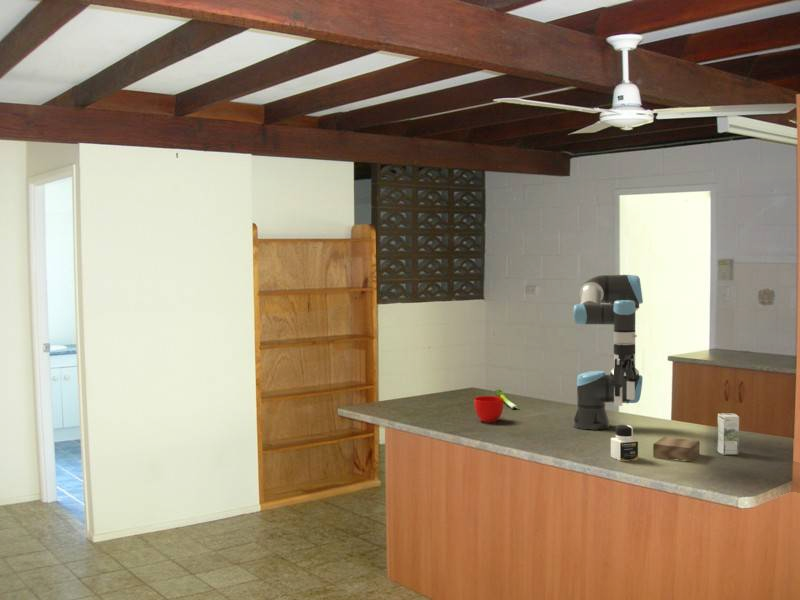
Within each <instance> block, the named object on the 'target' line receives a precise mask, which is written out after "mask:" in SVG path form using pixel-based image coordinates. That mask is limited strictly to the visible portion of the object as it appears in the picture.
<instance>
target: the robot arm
mask: <svg viewBox="0 0 800 600" xmlns="http://www.w3.org/2000/svg"><path fill="white" fill-rule="evenodd" d="M642 291H643V290H642V286H641V279H640V277H639V276H638V275H636V274H635V275H634V274H608V275H606V274H601V275H597V276H594V277H591V278H589V279H588V280H586V281H585V282H584V283H583V284H581V287H580V289H579V298H580V303H577V304H575V305H574V304H573V305H574V306H573V313H572V314H573V323H574V324H575V325H613V354H614V355H613V368H611V370H609V371H610V374H606V371H604V370H591V371H586V372H582V373H580V374H578V375H577V378H576V380H577V381H576V394H577V395H576V410H575V414H574V416H573V420H572V427H573V428H577V429H579V428H580V429H579V430H586V429H591V430H590V431H595V430H596V431H598V429H601V430H606V428H607V429H609V428H610V419H609V417H608V414H607V410H606V403H611V404H613V406H618V407H622V406H623V404H636V403H638V402H639V401H640V400H641V396H642V389H643V376H642V375H640V371H639V370H638V369H637V368H636V338H637V337H638V336H637V334H636V312H637V311H638V310H639V309H640V305H641V304H643V303H644V302H643V292H642Z"/></svg>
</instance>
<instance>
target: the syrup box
mask: <svg viewBox="0 0 800 600" xmlns="http://www.w3.org/2000/svg"><path fill="white" fill-rule="evenodd" d="M739 436H740V416H738V415H737V414H736V413H733V412H732V413H727V412H726V413H724V412H723V413H717V436H716V437H717V444H716V451H717V452H718V453H720V454H721V455H723V456H734V455H735V456H736V455H737V456H739V449H740V448H739V447H740V446H739V442H740V437H739Z"/></svg>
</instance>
